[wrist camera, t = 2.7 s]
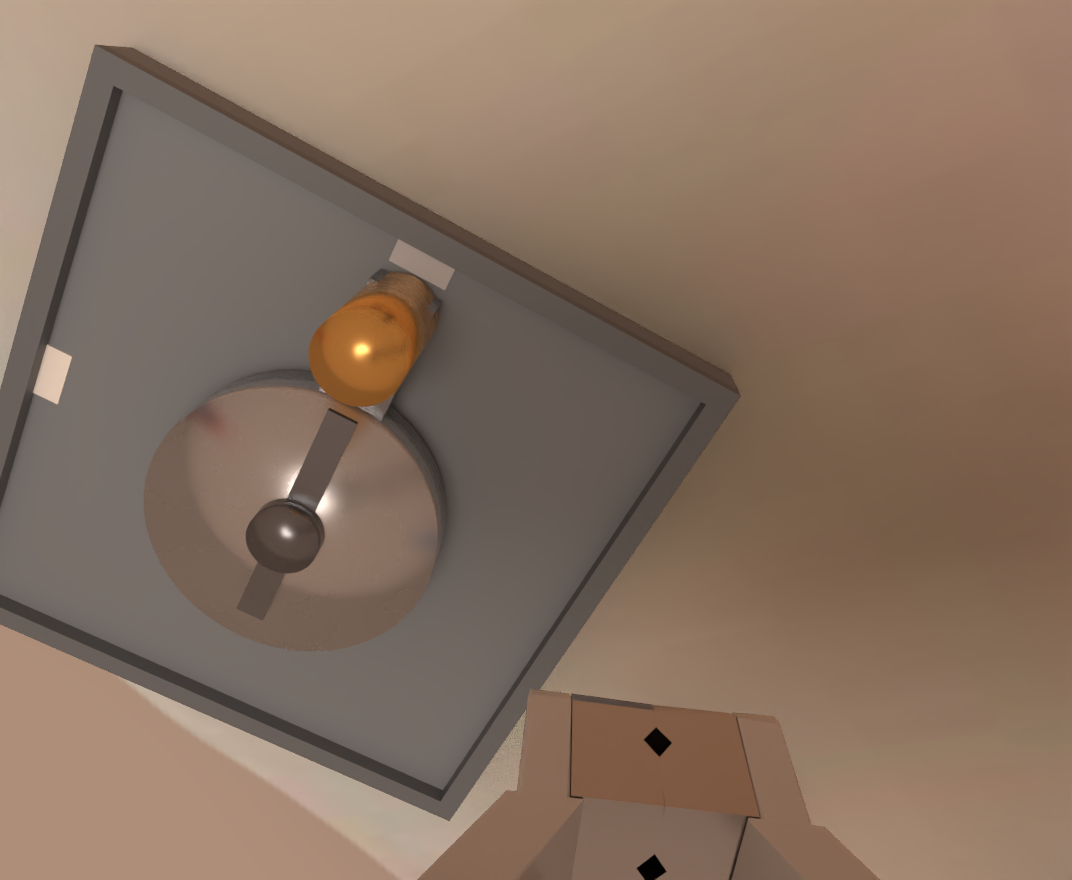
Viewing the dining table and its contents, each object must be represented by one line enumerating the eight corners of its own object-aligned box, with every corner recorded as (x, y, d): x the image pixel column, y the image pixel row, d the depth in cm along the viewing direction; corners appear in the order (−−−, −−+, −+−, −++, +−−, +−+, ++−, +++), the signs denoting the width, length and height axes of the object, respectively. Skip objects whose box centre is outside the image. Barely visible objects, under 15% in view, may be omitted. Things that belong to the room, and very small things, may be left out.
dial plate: (730, 375, 29) (740, 395, 27) (456, 782, 37) (449, 820, 35) (132, 48, 26) (94, 44, 24) (-21, 570, 34) (-58, 599, 32)
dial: (379, 658, 32) (342, 757, 27) (137, 546, 31) (53, 630, 26) (553, 350, 27) (544, 407, 22) (270, 199, 26) (195, 225, 21)
